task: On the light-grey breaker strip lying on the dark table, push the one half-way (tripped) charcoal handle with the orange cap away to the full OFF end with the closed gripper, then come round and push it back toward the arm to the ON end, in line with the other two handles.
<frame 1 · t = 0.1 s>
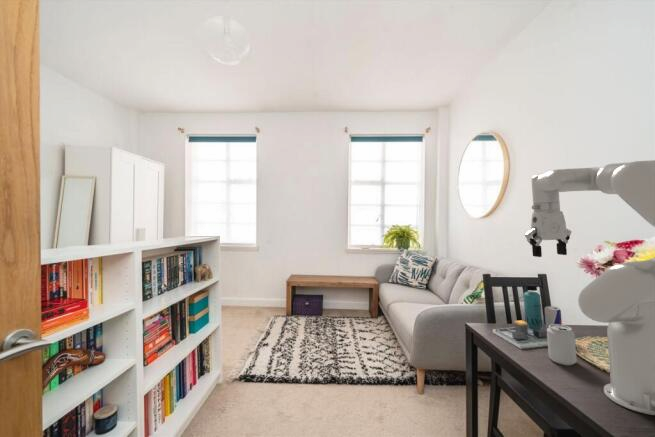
hand: (549, 255, 101), 37 cm above the table, tool pointing down, fingers open, 9 cm apart
panel: (522, 338, 117), on the table
can: (562, 361, 98), on the table
beverage bottle: (534, 330, 125), on the table
energy drink: (554, 337, 117), on the table
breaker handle: (521, 328, 117), point 4 cm above the table, slide at 4.0 cm
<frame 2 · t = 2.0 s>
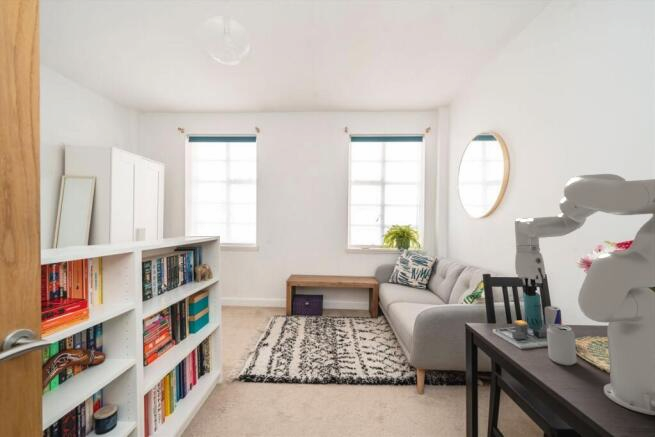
hand: (530, 295, 111), 20 cm above the table, tool pointing down, fingers closed
nothing on the table moved.
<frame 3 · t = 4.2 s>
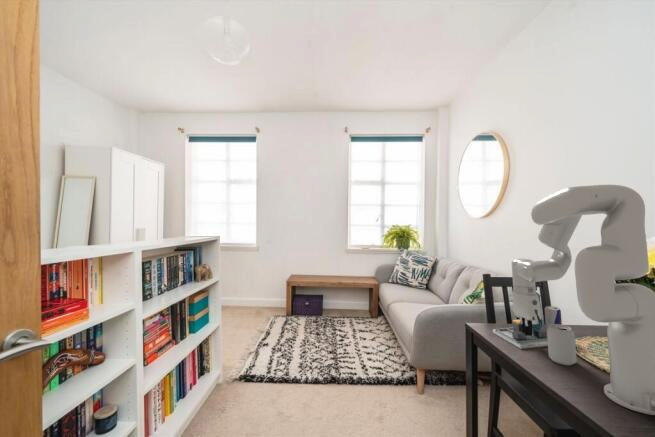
hand: (527, 334, 114), 3 cm above the table, tool pointing down, fingers closed
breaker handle: (519, 327, 118), point 4 cm above the table, slide at 5.1 cm, touching gripper
everything else where it was.
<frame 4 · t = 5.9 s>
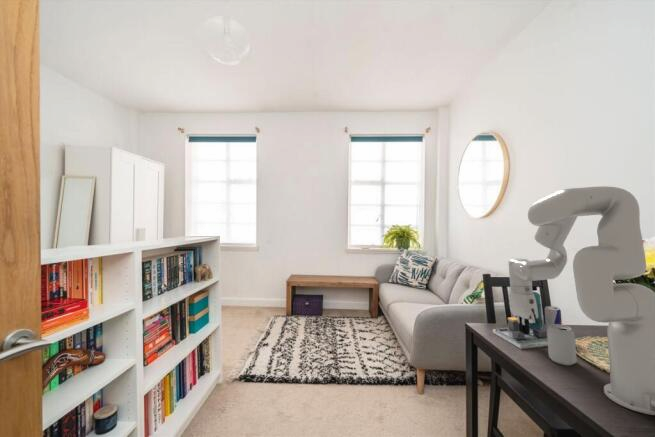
hand: (524, 333, 116), 3 cm above the table, tool pointing down, fingers closed
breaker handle: (514, 324, 121), point 4 cm above the table, slide at 8.1 cm
everything else where it was.
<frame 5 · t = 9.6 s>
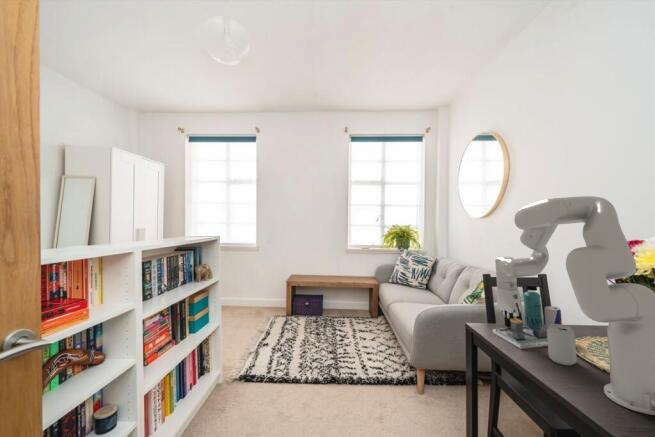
hand: (509, 326, 124), 3 cm above the table, tool pointing down, fingers closed
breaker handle: (516, 325, 120), point 4 cm above the table, slide at 6.5 cm, touching gripper
everything else where it was.
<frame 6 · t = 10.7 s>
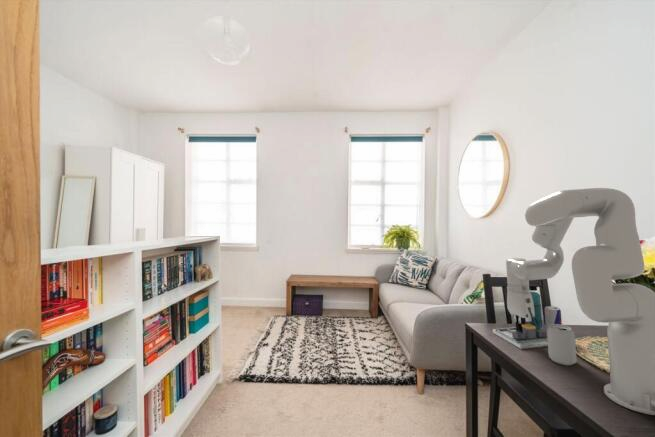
hand: (521, 331, 117), 3 cm above the table, tool pointing down, fingers closed
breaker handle: (529, 331, 113), point 4 cm above the table, slide at -0.1 cm, touching gripper
everything else where it was.
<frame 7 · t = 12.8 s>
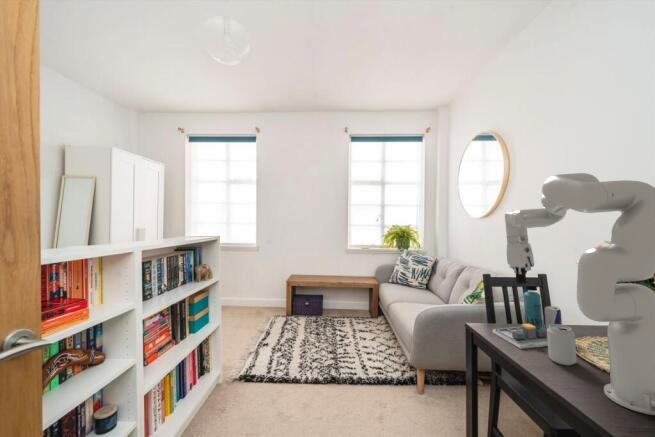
hand: (521, 283, 119), 23 cm above the table, tool pointing down, fingers closed
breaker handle: (529, 331, 113), point 4 cm above the table, slide at -0.1 cm
everything else where it was.
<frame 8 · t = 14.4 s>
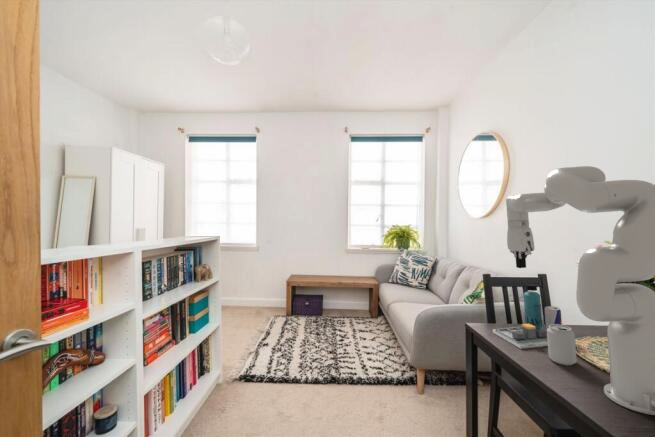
hand: (521, 267, 120), 29 cm above the table, tool pointing down, fingers closed
nothing on the table moved.
at the end: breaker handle slide at -0.1 cm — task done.
